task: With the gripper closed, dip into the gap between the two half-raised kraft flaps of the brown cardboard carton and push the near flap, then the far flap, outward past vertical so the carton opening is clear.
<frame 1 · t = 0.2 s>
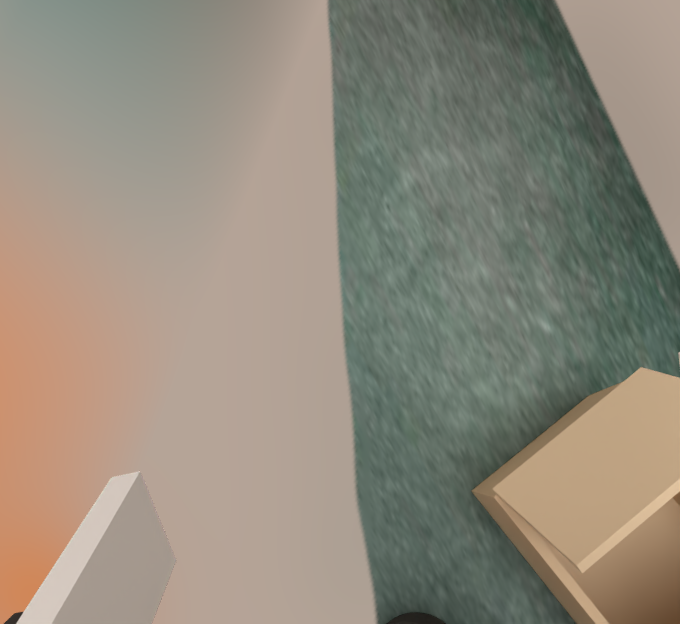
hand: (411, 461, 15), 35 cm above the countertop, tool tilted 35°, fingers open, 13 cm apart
carton: (612, 540, 46), on the countertop
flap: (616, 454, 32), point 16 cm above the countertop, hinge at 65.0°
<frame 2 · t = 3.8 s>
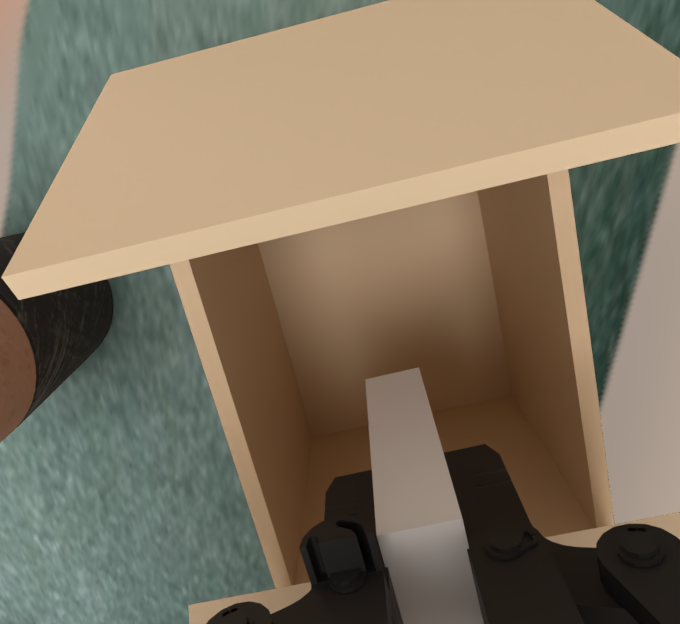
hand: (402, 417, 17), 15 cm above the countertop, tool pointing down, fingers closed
carton: (376, 262, 31), on the countertop
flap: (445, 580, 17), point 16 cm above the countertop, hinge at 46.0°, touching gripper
travel mug: (46, 299, 32), on the countertop
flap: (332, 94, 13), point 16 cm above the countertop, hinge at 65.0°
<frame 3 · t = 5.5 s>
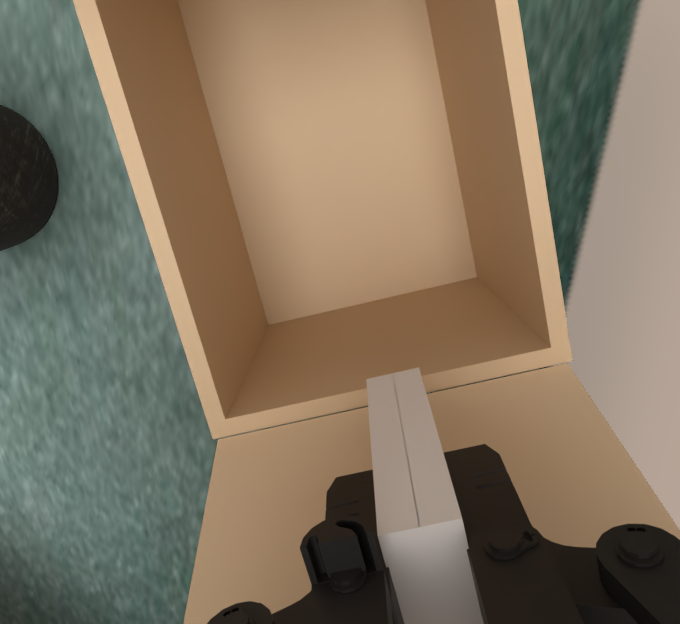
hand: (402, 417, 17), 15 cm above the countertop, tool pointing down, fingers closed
carton: (332, 133, 29), on the countertop
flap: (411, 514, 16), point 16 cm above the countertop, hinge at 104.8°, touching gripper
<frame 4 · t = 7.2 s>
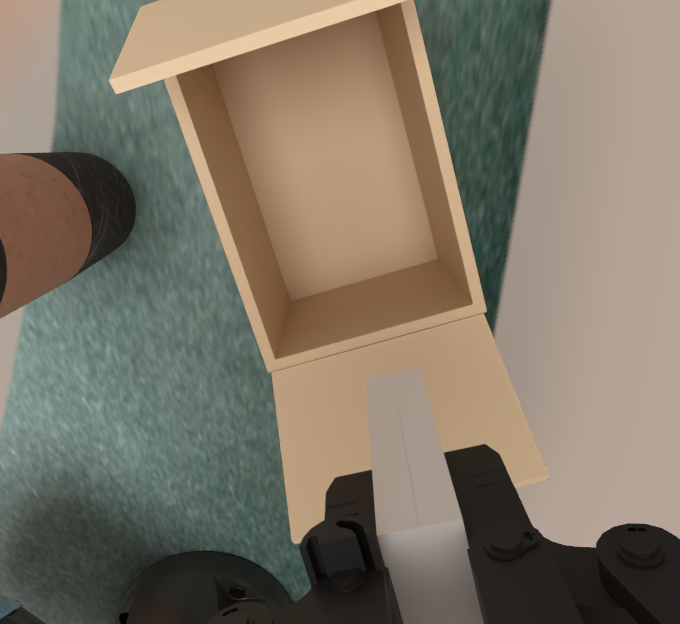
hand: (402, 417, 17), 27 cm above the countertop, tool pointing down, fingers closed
carton: (329, 162, 41), on the countertop
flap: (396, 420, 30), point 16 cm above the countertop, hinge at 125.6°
travel mug: (85, 205, 42), on the countertop
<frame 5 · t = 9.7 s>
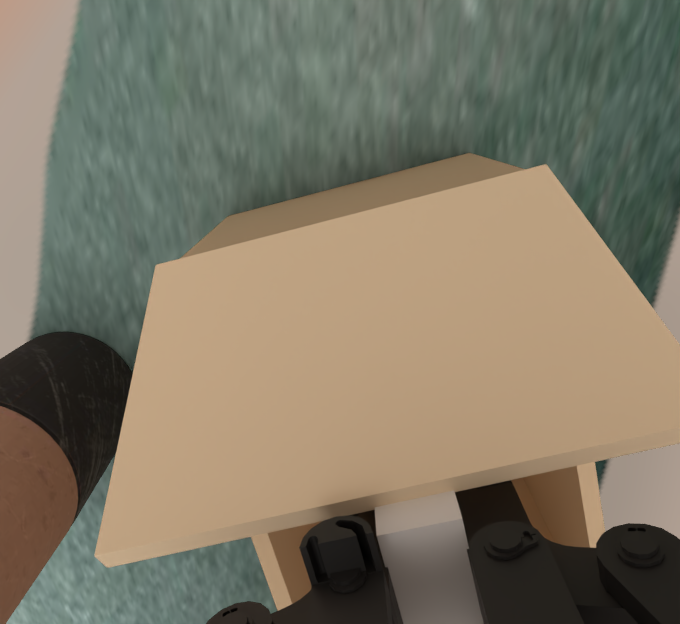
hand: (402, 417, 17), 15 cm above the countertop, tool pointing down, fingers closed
carton: (389, 353, 32), on the countertop
travel mug: (74, 391, 33), on the countertop
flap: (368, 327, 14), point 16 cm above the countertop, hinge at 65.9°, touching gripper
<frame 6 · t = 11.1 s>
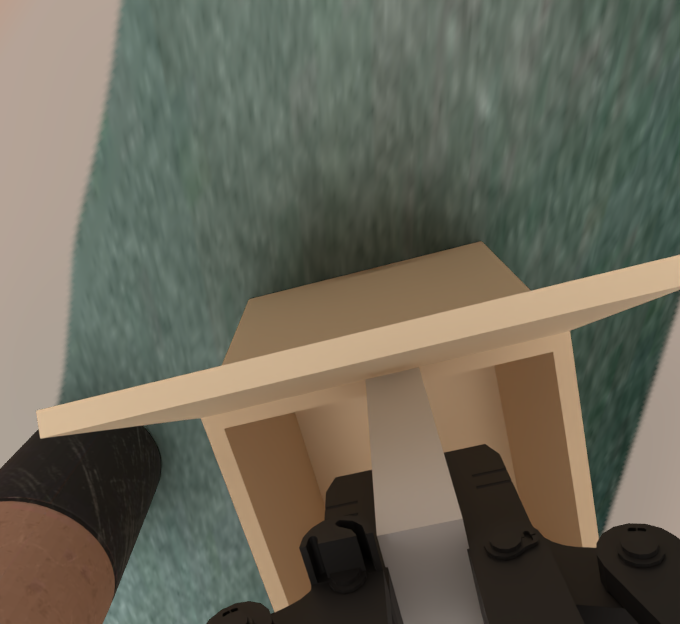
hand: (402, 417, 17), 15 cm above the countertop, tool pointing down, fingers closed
carton: (402, 423, 34), on the countertop
travel mug: (99, 458, 34), on the countertop
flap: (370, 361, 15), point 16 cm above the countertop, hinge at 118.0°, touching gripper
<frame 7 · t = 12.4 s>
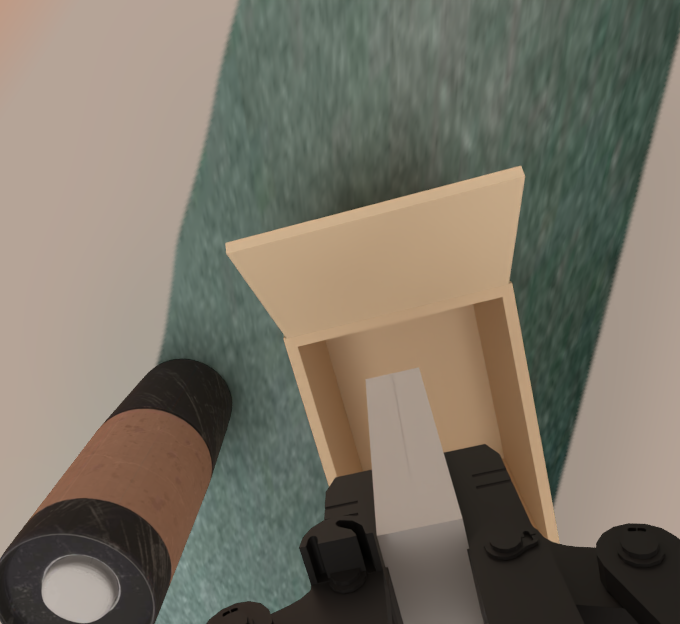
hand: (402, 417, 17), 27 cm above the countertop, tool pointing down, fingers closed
carton: (410, 373, 45), on the countertop
travel mug: (186, 400, 46), on the countertop
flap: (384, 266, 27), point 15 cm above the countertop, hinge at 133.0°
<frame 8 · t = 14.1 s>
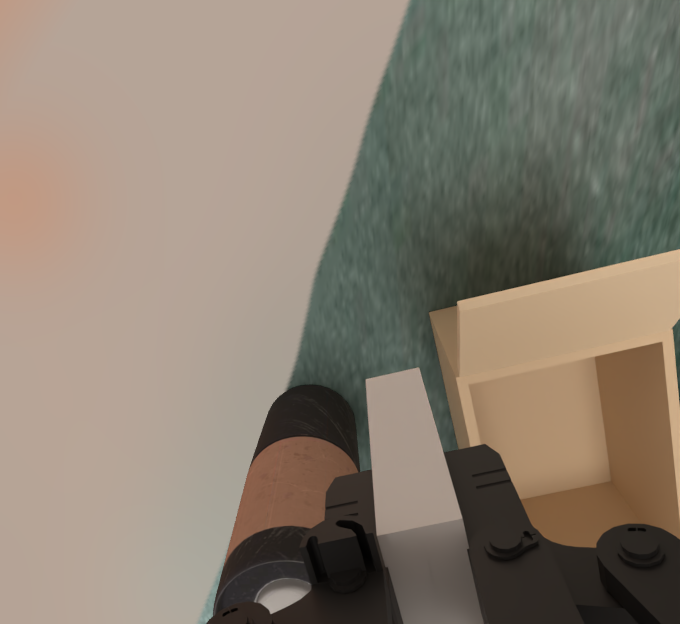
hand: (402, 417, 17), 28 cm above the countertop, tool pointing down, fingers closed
carton: (526, 400, 48), on the countertop
travel mug: (311, 423, 49), on the countertop
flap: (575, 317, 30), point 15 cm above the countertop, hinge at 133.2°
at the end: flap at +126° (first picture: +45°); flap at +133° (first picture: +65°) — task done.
